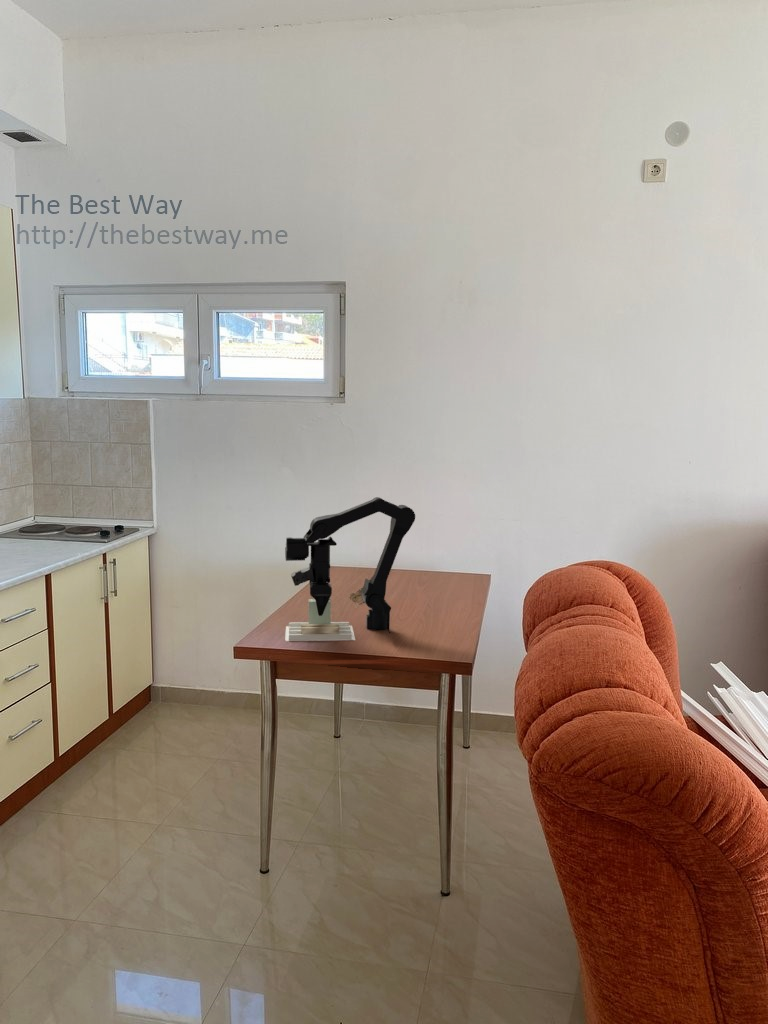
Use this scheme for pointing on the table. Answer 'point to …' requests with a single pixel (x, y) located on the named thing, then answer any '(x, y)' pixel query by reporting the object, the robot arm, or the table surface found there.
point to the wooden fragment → (357, 597)
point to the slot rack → (295, 634)
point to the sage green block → (313, 613)
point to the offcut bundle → (320, 629)
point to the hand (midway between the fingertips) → (319, 611)
